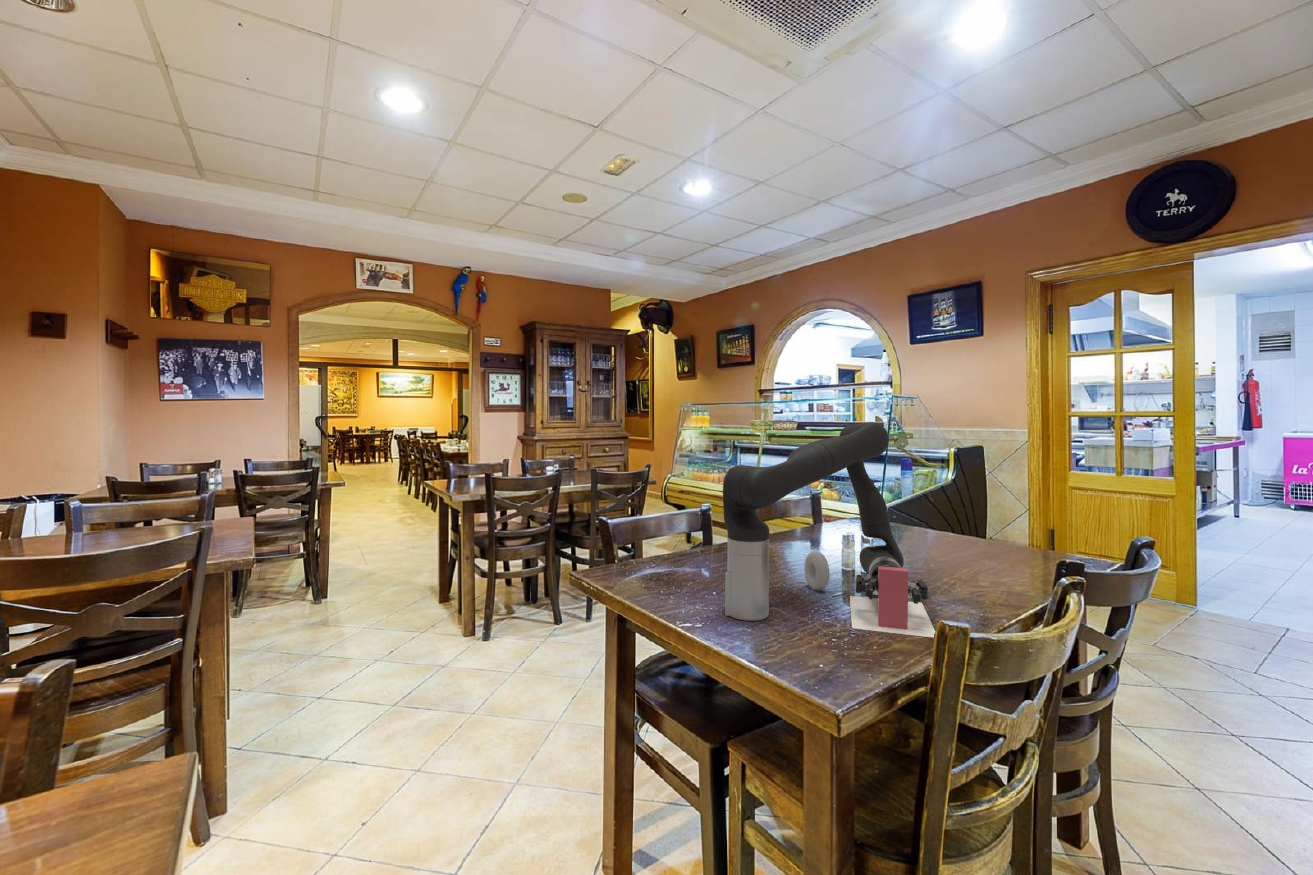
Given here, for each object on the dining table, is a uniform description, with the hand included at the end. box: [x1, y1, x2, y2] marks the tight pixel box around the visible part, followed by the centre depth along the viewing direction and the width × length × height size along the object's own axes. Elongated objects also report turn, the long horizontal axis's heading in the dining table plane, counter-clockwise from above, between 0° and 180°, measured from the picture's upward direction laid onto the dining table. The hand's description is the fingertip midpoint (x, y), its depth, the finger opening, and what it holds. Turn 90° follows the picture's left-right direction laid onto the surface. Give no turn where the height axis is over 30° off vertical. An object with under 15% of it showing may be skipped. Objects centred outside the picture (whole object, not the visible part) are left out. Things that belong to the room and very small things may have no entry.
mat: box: [849, 595, 936, 639], centre depth 120 cm, size 16×22×1 cm
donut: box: [803, 550, 830, 592], centre depth 139 cm, size 10×4×10 cm, turn 9°
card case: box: [877, 566, 909, 630], centre depth 113 cm, size 6×3×12 cm, turn 72°
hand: (893, 596), depth 111 cm, fingers open, 8 cm apart
